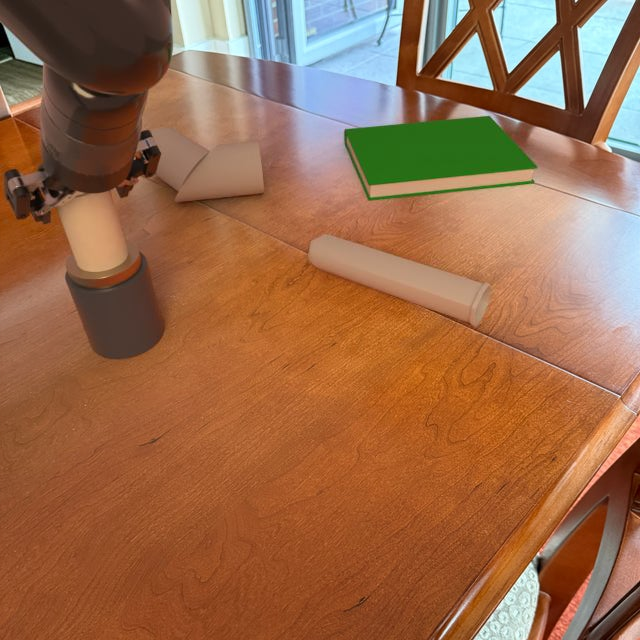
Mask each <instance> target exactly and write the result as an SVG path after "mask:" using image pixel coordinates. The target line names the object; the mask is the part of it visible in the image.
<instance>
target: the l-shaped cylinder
mask: <svg viewBox="0 0 640 640" xmlns="http://www.w3.org/2000/svg"><path fill="white" fill-rule="evenodd" d="M150 132H151V134H152V136H153V138H154V140H155V142H156V144H157V146H158V148H159V150H160V152H161V157H160V160H159V164H158V167H157V171H156V174H155V175H154V176H157V177H158V178H159V179H160V180H161V181H163V182H164V183H166V184H167V185H168V186H170V187H171V188H172V189H174V190H175V191H176V192H177V194H176V195H175V197H174V201H173V202H174V203H182V202H184V203H185V202H191V201H194V202H195V201H202V200H204V201H205V200H212V199H221V198H231V197H240V196H241V197H242V196H251V195H259V194H260V195H261V194H265V184H264V183H265V182H264V174H263V166H262V157H261V149H260V143H259V140H251V141H243V142H242V141H241V142H232V143H231V142H230V143H219V144H216V145H215V146H214V147H213V148H211V150H208V148H206V147H204V146H202V145H200V144H199V143H198V142H195V141H194V140H192V139H191V138H189V136H186V135H184V134H183V133H182V132H180V131H178V130H177V129H175V128H173V127H170V126H158V127H155V128H154V129H152V130H150Z"/></svg>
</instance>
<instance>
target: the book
mask: <svg viewBox="0 0 640 640" xmlns="http://www.w3.org/2000/svg"><path fill="white" fill-rule="evenodd" d="M343 135H344V136H343V139H344V140H343V141H344V146H345V148H346V150H347V153H348V155H349V157H350V160H351V162H352V165H353V168H354V169H355V172H356V174H357V177H358V179H359V181H360V184H361V186H362V188H363V191H364V193H365V195H366V198H367V200H368V201H377V200H388V199H398V198H406V197H415V196H427V195H435V194H445V193H453V192H463V191H464V192H465V191H472V190H473V191H474V190H483V189H492V188H503V187H511V186H512V187H513V186H519V185H520V186H522V185H531V184H535V180H533V176H534V172H535V170H536V169H538V165H537V164H536V163H535V162H534V161H533V160H532V159H531V158H530V157H529V156H528V155H527V153H525V152H524V150H523V149H522V148H521V147H520V146H519V145H518V144H517V142H515V141H514V140H513V138H511V137H510V135H508V134H507V132H506V131H505V130H504V129H503V128H502V127H501V126H500V124H498V122H496V121H495V120H494V118H492V117H491V115H483V116H473V117H472V116H471V117H460V118H451V119H450V118H449V119H439V120H428V121H418V122H417V121H416V122H408V123H407V122H405V123H397V124H386V125H374V126H362V127H352V128H345V129H344V132H343Z"/></svg>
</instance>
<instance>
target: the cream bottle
mask: <svg viewBox="0 0 640 640" xmlns="http://www.w3.org/2000/svg"><path fill="white" fill-rule="evenodd" d="M59 193H60V194H61V193H63V192H61V191H59ZM55 208H56V211H57V213H58V216H59V218H60V221H61V224H62V227H63V230H64V232H65V235H66V238H67V240H68V244H69V246H70V249H71V251H72V252H73V255H74V257H75V260H76V263H77V265H78V267H79V268H80V269H82V270H84V271H88V272H101V271H106V270H110V269H113V268H115V267H117V266H119V265H120V264H122V263H123V262H124V261H125V260H126V259H127V257H128V249H127V246H126V242H125V239H126V238H125V236H124V231H123V229H122V225H121V222H120V219H119V214H118V212H117V207H116V205H115V201H114V197H113V194H112V190H109V191H107V192H103V193H94V194H91V193H84V194H82V195H77V196H75V197H74V198H73V199H72V200H70V201H69V202H68V203H67V204H65V205H64V206H61V207H55ZM72 252H71V253H72Z"/></svg>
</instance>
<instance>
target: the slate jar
mask: <svg viewBox="0 0 640 640" xmlns="http://www.w3.org/2000/svg"><path fill="white" fill-rule="evenodd" d="M124 239H125V242H126V246H127V249H128V257H127V259H126V260H125V261H124V262H123V263H122V264H120V265H119V266H117V267H115V268H113V269H110V270H106V271H101V272H88V271H84V270H82V269H80V268H79V267H78V265H77V263H76V260H75V257H74V255H73V252H71V253H70V254H69V256H67V259H66V260H65V269H66V271H65V275H64V279H65V283H66V285H67V288H68V291H69V293H70V296H71V299H72V301H73V304H74V306H75V308H76V309H75V310H76V311H77V314H78V316H79V319H80V322H81V324H82V328H83V330H84V332H85V335H86V337H87V340H88V343H89V345H90V347H91V349H92V350H93V352H94V353H95V354H97V355H98V356H100V357H102V358H105V359H111V360H124V359H125V360H126V359H130V358H134V357H137V356H140V355H142V354H145V353H147V352H148V351H149V350H151V349H152V348H154V347H155V346H156V345H157V344H158V343H159V342H160V340H161V339H162V338H163V335H164V332H165V324H164V320H163V316H162V312H161V309H160V305H159V301H158V298H157V293H156V289H155V287H154V286H155V285H154V283H153V278H152V274H151V271H150V268H149V265H148V260H147V258H146V256H145V254H144V253H143V252H142V251H140V248H139V246H138V245H137V244H136V243H135V242H133V241H131V240H129V239H126V238H124Z"/></svg>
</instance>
